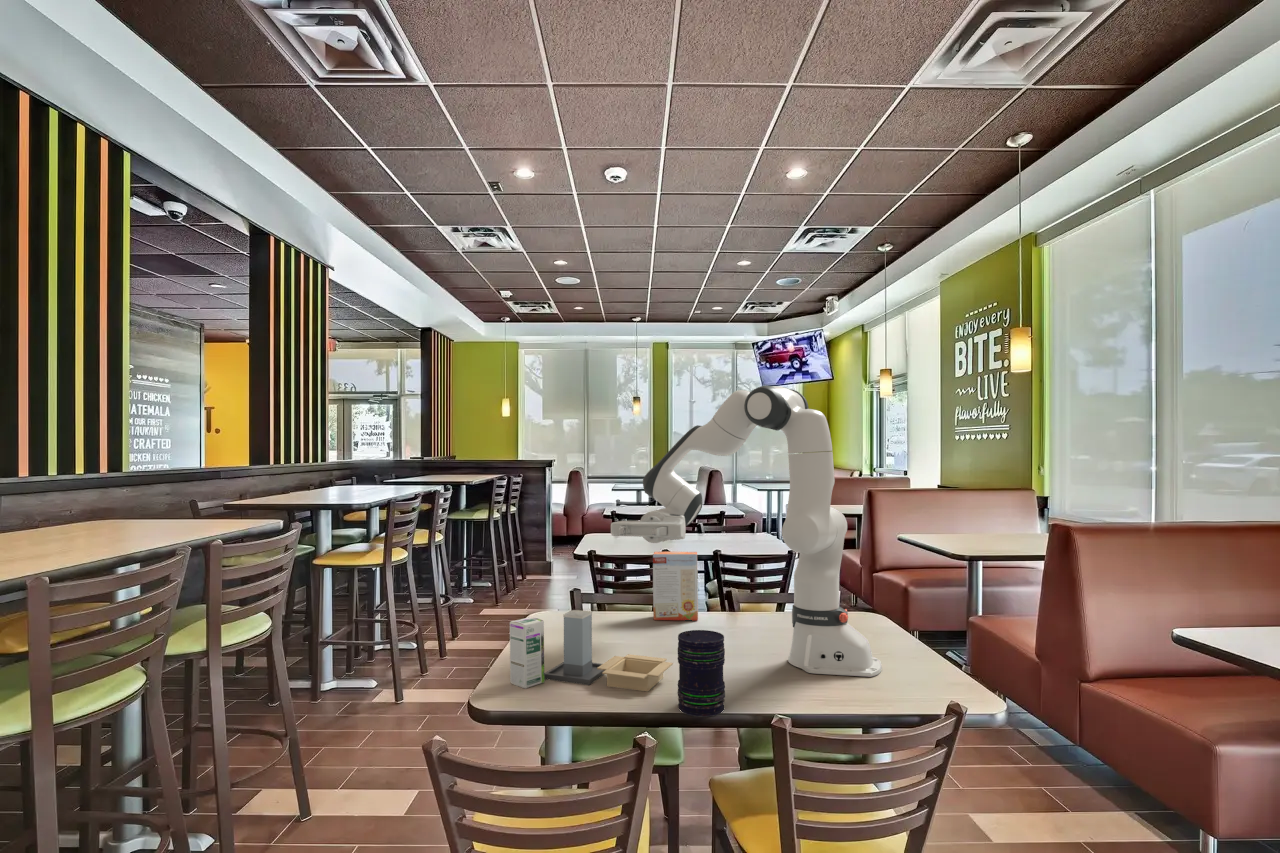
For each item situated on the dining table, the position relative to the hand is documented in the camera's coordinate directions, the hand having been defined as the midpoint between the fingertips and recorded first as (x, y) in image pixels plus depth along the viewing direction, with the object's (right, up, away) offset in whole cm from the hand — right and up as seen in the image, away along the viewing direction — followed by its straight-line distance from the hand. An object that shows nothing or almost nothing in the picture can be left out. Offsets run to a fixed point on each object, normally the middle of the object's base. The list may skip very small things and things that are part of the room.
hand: (637, 532), depth 186 cm
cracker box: (+12, -33, +39) cm, 53 cm away
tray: (-14, -32, -15) cm, 38 cm away
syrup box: (-25, -32, -21) cm, 46 cm away
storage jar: (+13, -32, -37) cm, 50 cm away
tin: (-14, -31, -15) cm, 37 cm away
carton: (0, -32, -20) cm, 38 cm away
